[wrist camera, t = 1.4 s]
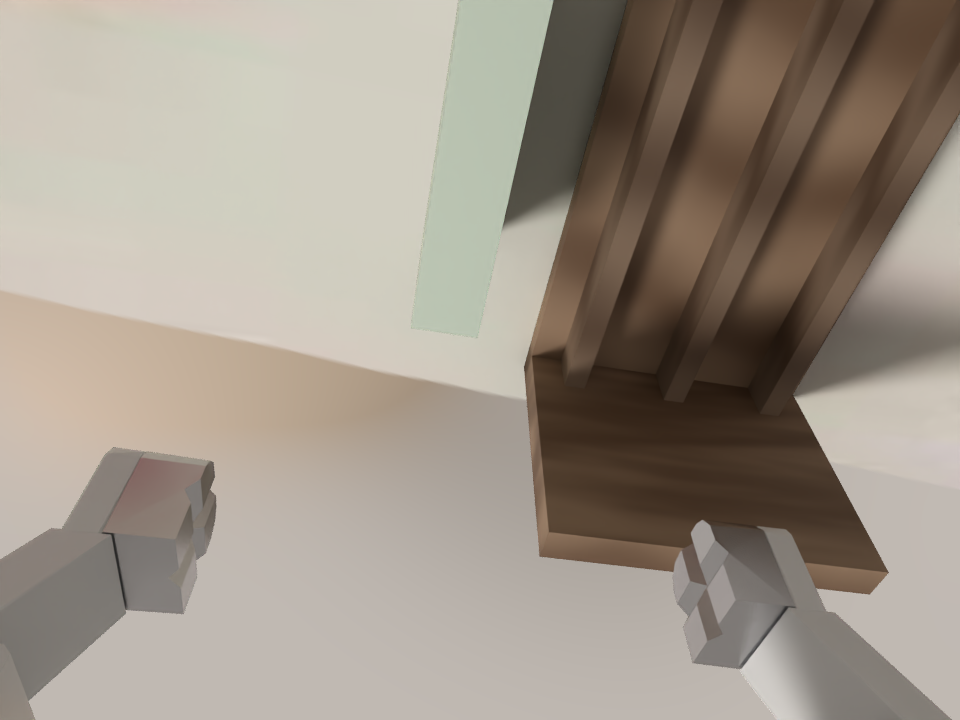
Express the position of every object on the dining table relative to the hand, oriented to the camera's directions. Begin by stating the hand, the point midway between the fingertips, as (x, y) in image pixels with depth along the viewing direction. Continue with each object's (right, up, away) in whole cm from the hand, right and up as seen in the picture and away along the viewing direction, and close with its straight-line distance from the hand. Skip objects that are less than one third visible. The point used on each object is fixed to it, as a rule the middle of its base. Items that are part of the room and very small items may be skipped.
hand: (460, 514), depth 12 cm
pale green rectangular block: (0, +13, +17) cm, 22 cm away
